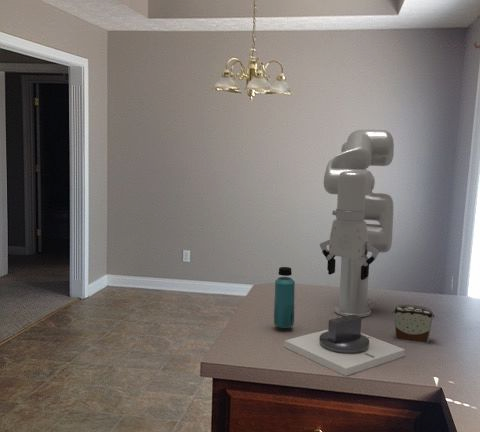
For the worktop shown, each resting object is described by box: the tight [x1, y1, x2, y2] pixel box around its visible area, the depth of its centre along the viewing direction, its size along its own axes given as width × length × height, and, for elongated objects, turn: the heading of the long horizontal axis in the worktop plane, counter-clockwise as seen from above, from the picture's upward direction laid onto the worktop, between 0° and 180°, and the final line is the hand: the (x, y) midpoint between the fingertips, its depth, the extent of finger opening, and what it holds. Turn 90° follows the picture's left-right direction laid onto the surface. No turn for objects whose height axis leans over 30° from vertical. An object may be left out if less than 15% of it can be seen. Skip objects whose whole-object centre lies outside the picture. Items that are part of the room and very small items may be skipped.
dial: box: [319, 314, 369, 354], centre depth 161 cm, size 14×14×8 cm
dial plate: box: [283, 329, 406, 377], centre depth 162 cm, size 24×24×2 cm
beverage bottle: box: [273, 266, 296, 329], centre depth 178 cm, size 6×7×20 cm
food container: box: [392, 303, 436, 345], centre depth 173 cm, size 12×6×10 cm, turn 71°
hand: (347, 276), depth 159 cm, fingers open, 9 cm apart
